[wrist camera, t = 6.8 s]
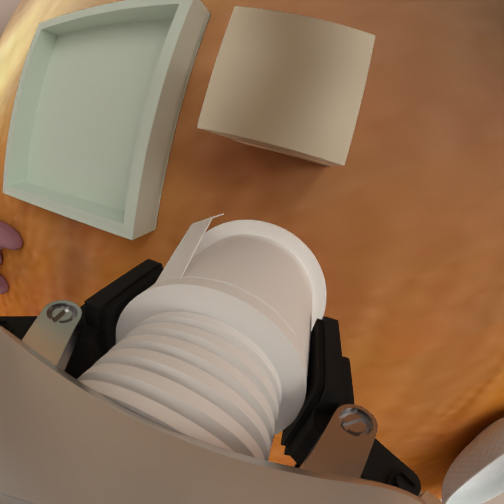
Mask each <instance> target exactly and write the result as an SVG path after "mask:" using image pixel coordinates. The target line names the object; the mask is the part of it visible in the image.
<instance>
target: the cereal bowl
mask: <svg viewBox="0 0 504 504" xmlns="http://www.w3.org/2000/svg"><path fill="white" fill-rule="evenodd" d="M503 492H504V417H502V418H500V419H498V420H496V421H495V422H493V423H492V424H490V425H489V426H487V427H486V428H485V429H484V430H482V431H481V432H480V433H479V434H478V435H477V436H476V437H475V438H474V439H473V440H472V442H470V443H469V444H468V445H467V446H466V447H465V448H464V449H463V450H462V451H461V453H460V454H459V455H458V456H457V457H456V458H455V460H454V461H453V463H452V464H451V466H450V467H449V469H448V471H447V473H446V475H445V478H444V480H443V484H442V501H443V503H444V504H482V503H484V502H487V501H489V500H491V499H492V498H494V497H496V496H498V495H500V494H501V493H503Z"/></svg>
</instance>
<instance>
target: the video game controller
mask: <svg viewBox="0 0 504 504" xmlns="http://www.w3.org/2000/svg"><path fill="white" fill-rule="evenodd" d="M22 244H23V240H22V238H21V236H20V235H19V233H18V232H17V231H16V230H15V229H14V228H12V227H11V226H9V225H8V224H6V223H4V222H2V221H0V250H1V249H3V248H4V247H5V248H7V249H12V250H16V249H19V248H21V246H22ZM1 262H2V257H1V251H0V264H1ZM8 288H9V286H8V283H7V281H6V280H5V279H4V278H3V277H2V276H1V275H0V294H4V293H6V292H7V291H8Z"/></svg>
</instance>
